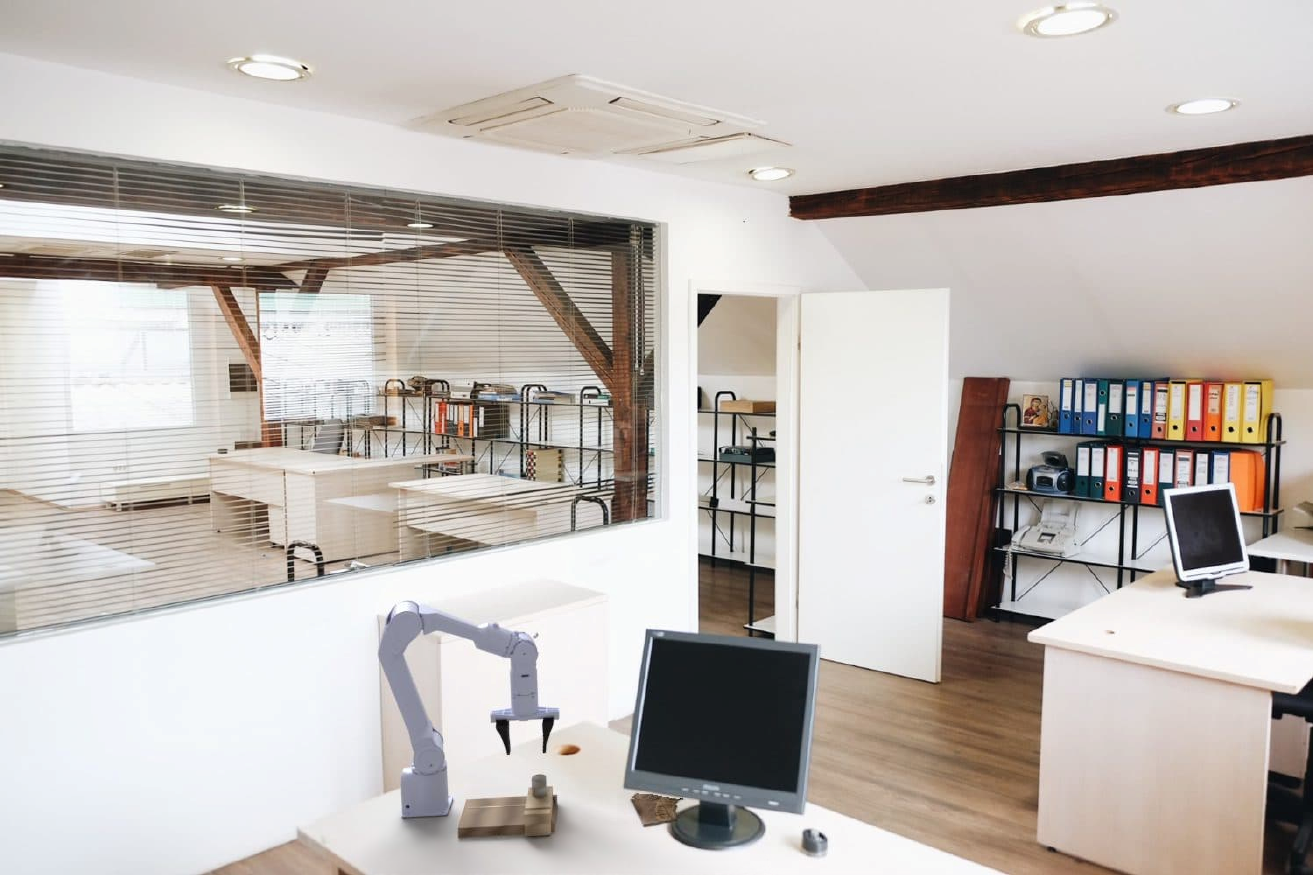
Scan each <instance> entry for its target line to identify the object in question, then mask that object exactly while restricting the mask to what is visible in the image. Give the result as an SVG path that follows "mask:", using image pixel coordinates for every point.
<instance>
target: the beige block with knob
mask: <svg viewBox="0 0 1313 875" xmlns="http://www.w3.org/2000/svg"><path fill="white" fill-rule="evenodd" d="M547 782H548V781H547V775H546V774H541V773H539V774H535V775H533V776H532V777H531V786H530V787H528V790H527V794H526V796H527V801H526V807H525V813H524V821H525V834H524V836H525V837H529V836H530V837H531V836H532V837H533V836H545V835H547V836H549V835H552V833H551V816H552V807H553V803H556V797H555V796H554V797H553V795H554V786H553V785H551V786H550V785H549V786H548V784H547Z"/></svg>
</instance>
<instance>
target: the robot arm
mask: <svg viewBox="0 0 1313 875" xmlns="http://www.w3.org/2000/svg"><path fill="white" fill-rule="evenodd" d="M491 622H492V623H490V622H484V623H482V624H479V625H477V624H475V623H472V622H470V621H468V620H465V619H462V618H460V617H458V616H455V615H453V614H451V613H448V612H445V611H442V610H441V609H438V608H435V607H433V606H431V605H428V604H426V603H421V602H419V603H417V602H415V601H413V600H409V599H403V600H401V601H398V602H397V603H395V604H394V605H393V606H392V608H391V610H390V611H389V613H388V614H387V615H386V618H385V623H384V626H383V630H382V634H381V639H380V641H379V645H378V652H377V656H378V660H379V662H380V665H381V667H382V669H383V671H384V674H385V677H386V680H387V682H388V685H389V687H390V690H391V692H392V695H393V697H394V700H395V702H396V704H397V707H398V709H399V712H400V714H401V717H402V719H403V721H404V725H405V727H406V729H407V733H408V735H409V740H410V745H411V748H412V750H413V759H412V760H413V762H412V764H411V766H408V767H404V768H402V771H401V775H400V799H401V800H400V802H401V814H400V815H401V818H421V817H438V816H440V817H441V816H447V815H449V811H450V809H451V805H452V802H453V800H454V796H453V795H449V781H448V780H449V779H448V778H449V777H448V762H447V760H446V756H445V752H444V738H443V735H442V733H441V732H440V731H439V730H437V729H436V728H435V726H434V725H433V722H432V720H431V719H430V718H429V714H428V713H427V711H426V707H425V705H424V703H423V700H422V698H421V696H420V693H419V691H418V687H417V685H416V683H415V681H414V677H413V676H412V673H411V670H410V668H409V665H408V663H407V660H406V656H405V655H404V653H405V652H406V650H407V648H408V646H409V645H410V644H411V643H412V642H413V641H414V640H415V639H416V638H417V637H418V636H419V635H420V633H421V631H422V633H423V634H422V635H423V636H427V635H429V634H432V633H434V632H437V631H438V632H442V633H446V634H449V635H453V636H456V637H459V638H463V639H466V640H470V641H473V643H474V645H475V648H476V649H477V650H480V651H483V652H486V653H489V654H492V655H493V656H494V655H495V656H498V657H501V658H503V659H504V658H505V659H510V670H509V677H510V678H509V680H510V706H511V707H509V708H504V709H498V710H497V709H496V710H491V711H490V724H492V723H493V724H494V723H495V729H496V732H497V734H498V735H499V737H500V738H501V740H502V743H503V745H504V748H505V751H506V752H505V753H506V756H510V755H511V752H512V749H511V745H512V744H511V737H510V722H512V721H519V722H527V721H533V720H536V721H537V720H542V722H541V731H542V750H541V751H542V754H546V753H547V750H548V749H547V745H548V742H549V738H550V735H551V733H552V730H553V728H554V724H555V721H559V720H560V707H550V706H549V707H546V706H539V691H538V690H539V688H538V686H539V685H538V684H539V683H538V669H537V660H538V657H539V655H540V654H539V651H538V647H537V645H536V643H535V641H534V638H533V637H532V636H531V635H530V634H528V633H526V632H525V631H519V630H514V631H512V630H510V629H507V628H505V627H501V626H500V625H499V622H496V621H491Z"/></svg>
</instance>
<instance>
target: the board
mask: <svg viewBox="0 0 1313 875" xmlns="http://www.w3.org/2000/svg"><path fill="white" fill-rule="evenodd" d="M554 796H555V797H556V803H553V807H552V816H551V834H552V833H553V834H555V832H556V824H557V813H558V794H553V797H554ZM526 801H527V795H525V796H523V795H522V796H503V797H487V798H486V797H485V798H466V799H465V802H464V805H463V809H462V812H461V816H460V819H459V823H458V826H457V838H462V839H463V838H475V837H476V838H477V837H478V838H479V837H481V838H482V837H495V836H496V837H497V836H514V835H515V836H516V835H525V821H524V813H525V807H526Z"/></svg>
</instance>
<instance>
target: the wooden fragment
mask: <svg viewBox="0 0 1313 875" xmlns="http://www.w3.org/2000/svg"><path fill="white" fill-rule="evenodd" d="M680 800H681V799H676V798H669V797H662V796H658V795H653V794H639V793H637V792H636V793H634V794H633V796H631V798H630V801H631V802H632V804H633V806H634V808H635V811H636V813H637V815H638V816H639V819H640V821H641V822H642V826H643V827H644V828H645V827H649V826H650V827H652V826H659V825H662V824H665V823H669V822H672V821H674V820H675V821H676V820H677V814H676V813H677V811H676V808H677V806H678V805H677V804H676V803H677V802H678V801H680Z"/></svg>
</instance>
